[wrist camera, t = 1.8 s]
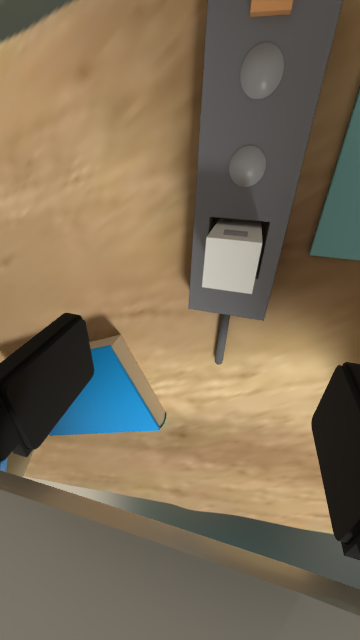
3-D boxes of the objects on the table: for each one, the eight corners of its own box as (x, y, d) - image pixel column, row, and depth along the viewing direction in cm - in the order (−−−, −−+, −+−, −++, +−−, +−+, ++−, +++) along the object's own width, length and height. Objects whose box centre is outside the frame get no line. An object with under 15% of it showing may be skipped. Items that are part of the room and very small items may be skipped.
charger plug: (261, 219, 25) (263, 239, 18) (253, 262, 27) (251, 294, 20) (220, 215, 25) (206, 233, 19) (215, 257, 28) (202, 287, 21)
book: (-6, 371, 44) (105, 346, 33) (14, 356, 47) (121, 328, 37) (52, 438, 50) (160, 434, 40) (66, 420, 54) (169, 412, 43)
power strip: (216, -11, 18) (208, -46, 15) (341, -22, 16) (359, -63, 13) (189, 355, 35) (183, 373, 32) (249, 367, 34) (248, 386, 31)
